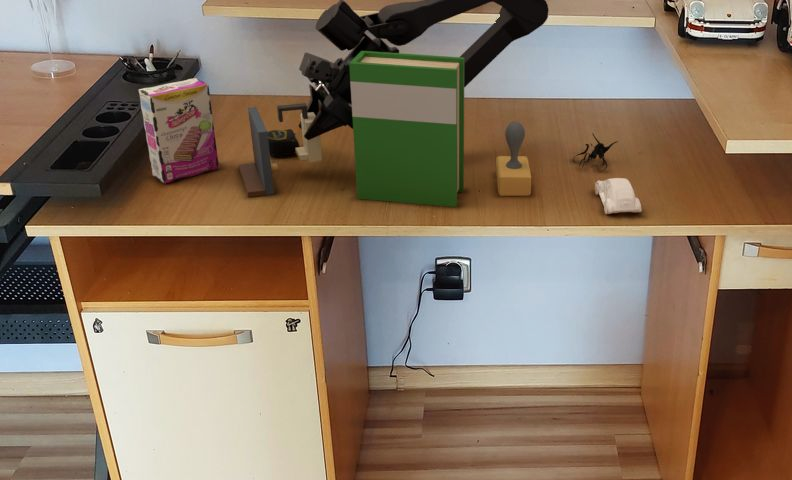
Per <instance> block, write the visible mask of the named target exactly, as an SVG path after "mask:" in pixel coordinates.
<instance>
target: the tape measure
mask: <svg viewBox="0 0 792 480" xmlns="http://www.w3.org/2000/svg"><path fill="white" fill-rule="evenodd" d="M267 134H268V143H269V152H270V156H279V157H280V156H287V155H291V154H296V149H295V148H297V147H300V143H299V141H298V139H297V138H296V137H297V136H296V133H295V132H294V130H293V129H291V128H289V129H271V130H267Z"/></svg>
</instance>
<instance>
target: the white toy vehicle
mask: <svg viewBox="0 0 792 480" xmlns="http://www.w3.org/2000/svg"><path fill="white" fill-rule="evenodd" d="M594 192H595V195H596V196H599V197H600V200H601V202H602V206H603V211H604V214H605V215H611V214H619V213H634V214H639V213H642V204H641V201H640V199H639V198H638V197H636V195H635V194H636V193H635V191H634V188H633V186H632V184H631V181H630V180H628V178H626V177H625V178H624V177H613V178H607V179H605V180H597V181H595V185H594Z"/></svg>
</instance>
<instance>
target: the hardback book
mask: <svg viewBox="0 0 792 480" xmlns="http://www.w3.org/2000/svg"><path fill="white" fill-rule="evenodd" d="M349 68H350V84H351V100H352V117H353V129H352V131H353V148H354V164H355V165H354V166H355V179H356V180H355V182H356V196H357V199H358V200H370V201H379V202H391V203H393V202H394V203H404V204H405V203H406V204H416V205H425V206H426V205H427V206H428V205H429V206H440V207H452V208H457V206H458V193H463V192H464V190H465V88H464V58H463V57H460V56H446V55H433V54H432V55H431V54H417V53H401V52H399V53H388V52H373V51H361V52H360V53H359V54H358V55H357V56H356V57H355V58H354V59H353V60H352V61H351V62H350V63H349Z"/></svg>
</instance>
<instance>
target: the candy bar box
mask: <svg viewBox="0 0 792 480" xmlns="http://www.w3.org/2000/svg"><path fill="white" fill-rule="evenodd" d="M137 91H138V97H139V102H140V108H141V115H142V121H143V126H144V132H145V137H146V145H147V150H148V156H149V161H150V168H151V172H152V177H154V178H155V179H157V180H158V181H160V182H161V183H163V184H168V183H169V184H170V183H172V182H175V181H180V180H183V179H187V178H190V177H194V176H197V175H201V174H205V173H208V172H211V171H217V170H219V168H220V164H219V157H218V148H217V141H216V133H215V125H214V118H213V110H212V103H211V94H210V86H209V84H208V83H206V82H205V81H202V80H200V79H198V78H196V77H193V78H188V79H184V80H177V81H174V82H170V83H163V84H159V85H154V86H149V87H143V88H139V89H137Z"/></svg>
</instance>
